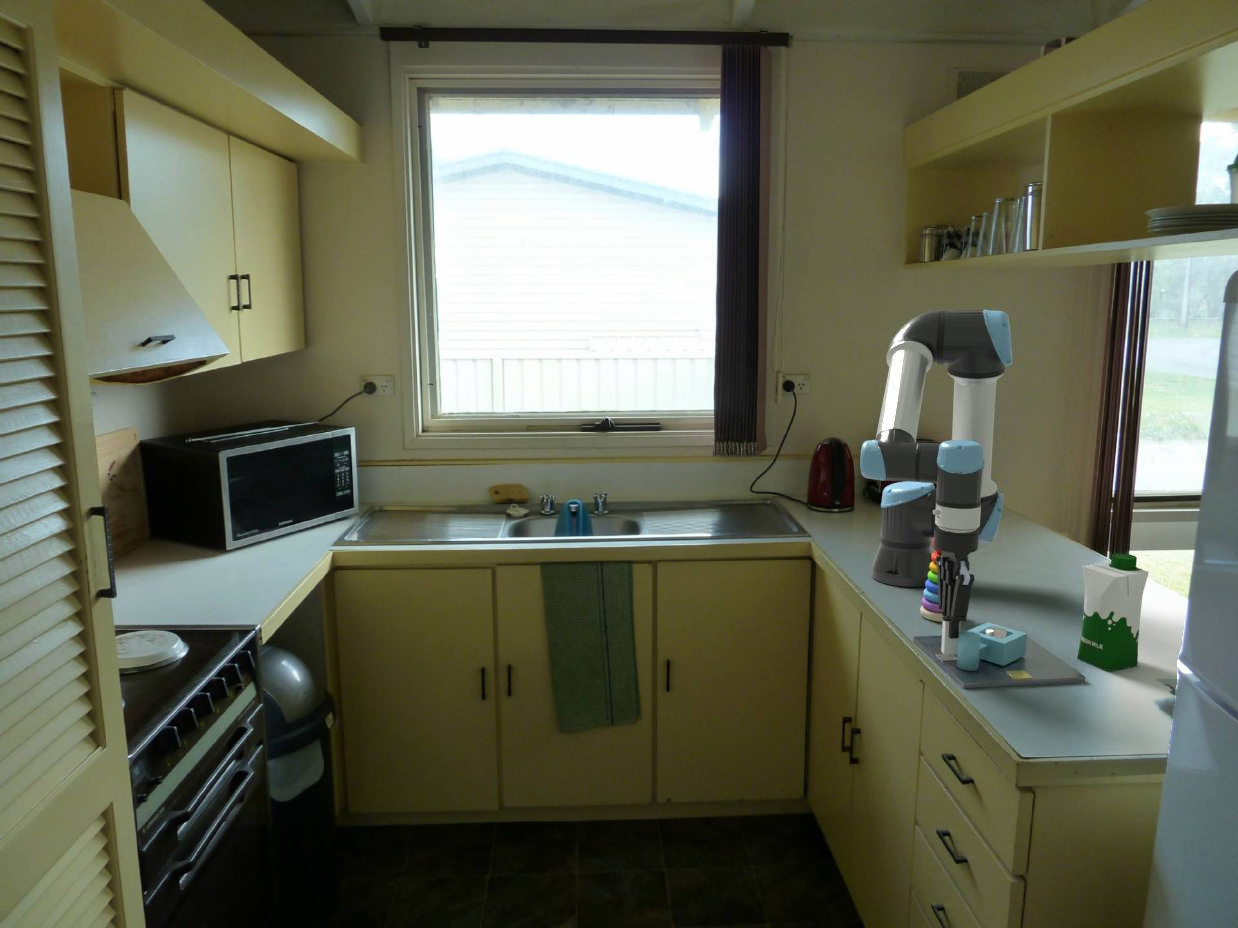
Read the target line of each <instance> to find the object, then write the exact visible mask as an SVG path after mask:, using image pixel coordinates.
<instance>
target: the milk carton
mask: <svg viewBox="0 0 1238 928" xmlns="http://www.w3.org/2000/svg"><path fill="white" fill-rule="evenodd" d="M1110 558H1111V560H1110V561H1104V562H1095V563H1094V562H1093V563H1091V564H1086V565H1082V566H1081V569H1082V574H1083V581H1084V598H1083V599H1084V602H1083V611H1082V612H1083V614H1082V627H1081V635H1080V640H1079V645H1078V646H1079V647H1078V651H1077V652H1078V653H1077V656H1076V658H1077V659H1079V660H1081V661H1082V662H1085V663H1088V664H1090V665H1092V666H1094V667H1097V668H1099V669H1101V670H1103V671H1106V672H1108V673H1110V672H1114V671H1120V670H1123V669H1124V670H1125V669H1130V668H1134V667H1137V666H1139V665H1138V664H1139V663H1138V662H1139V661H1138V657H1139V655H1138V654H1139V637H1140V625H1141V616H1142V615H1141V614H1142V604H1143V603H1142V602H1143V594H1144V591H1145V588H1146V584H1147V579H1148V577H1149V573H1150V572H1149V571H1147V570H1143V569H1142V568H1139V567H1137V560H1138V559H1137V556H1136V555H1133V554H1130V553H1122V552H1118V553H1112V554H1111V557H1110Z"/></svg>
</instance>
